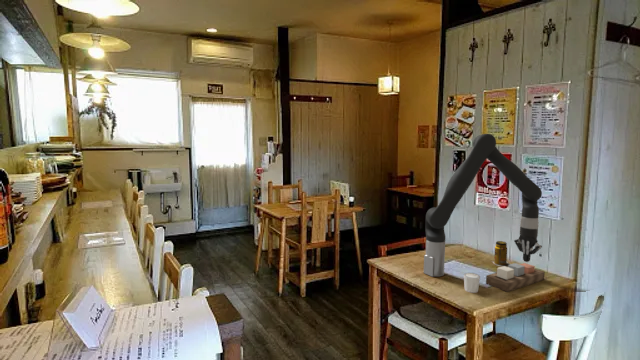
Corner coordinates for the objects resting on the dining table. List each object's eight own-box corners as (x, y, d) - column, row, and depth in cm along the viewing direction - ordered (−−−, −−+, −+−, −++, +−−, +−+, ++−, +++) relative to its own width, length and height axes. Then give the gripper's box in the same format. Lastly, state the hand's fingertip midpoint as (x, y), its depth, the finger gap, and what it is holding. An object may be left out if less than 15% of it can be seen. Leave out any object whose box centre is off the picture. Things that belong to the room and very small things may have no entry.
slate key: (517, 276, 177) (518, 268, 177) (507, 273, 181) (508, 264, 181) (524, 274, 180) (524, 266, 179) (514, 271, 184) (514, 263, 183)
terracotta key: (527, 276, 181) (528, 267, 181) (517, 272, 186) (518, 264, 185) (534, 274, 184) (534, 266, 183) (524, 270, 188) (524, 263, 187)
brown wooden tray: (507, 292, 169) (507, 283, 169) (485, 283, 179) (486, 275, 178) (544, 279, 183) (544, 271, 183) (522, 272, 193) (522, 265, 192)
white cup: (460, 287, 175) (461, 272, 174) (474, 286, 176) (475, 272, 175) (467, 293, 168) (468, 278, 167) (482, 293, 169) (483, 277, 168)
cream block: (506, 279, 173) (507, 271, 173) (496, 276, 178) (497, 267, 177) (513, 277, 176) (514, 269, 175) (503, 274, 180) (504, 266, 180)
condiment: (491, 261, 209) (492, 240, 208) (506, 261, 209) (507, 240, 208) (497, 266, 202) (498, 244, 201) (513, 266, 202) (514, 244, 201)
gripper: (511, 224, 185) (508, 258, 188) (538, 230, 174) (535, 267, 176) (520, 222, 189) (518, 256, 191) (547, 228, 178) (544, 264, 180)
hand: (526, 261), depth 184 cm, fingers closed
